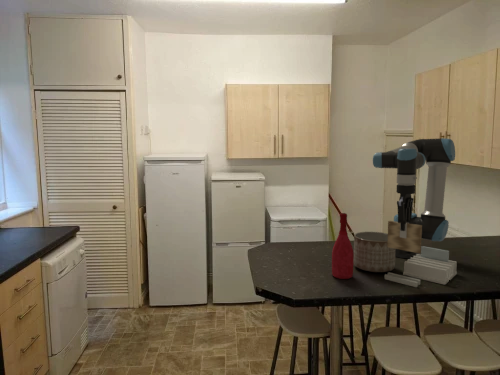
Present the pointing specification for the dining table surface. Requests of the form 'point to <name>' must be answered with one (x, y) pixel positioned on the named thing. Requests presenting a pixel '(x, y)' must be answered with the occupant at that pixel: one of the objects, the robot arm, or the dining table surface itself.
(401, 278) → the board stand
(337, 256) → the wine bottle
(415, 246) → the oak board
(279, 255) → the dining table surface
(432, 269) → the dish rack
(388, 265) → the planter
